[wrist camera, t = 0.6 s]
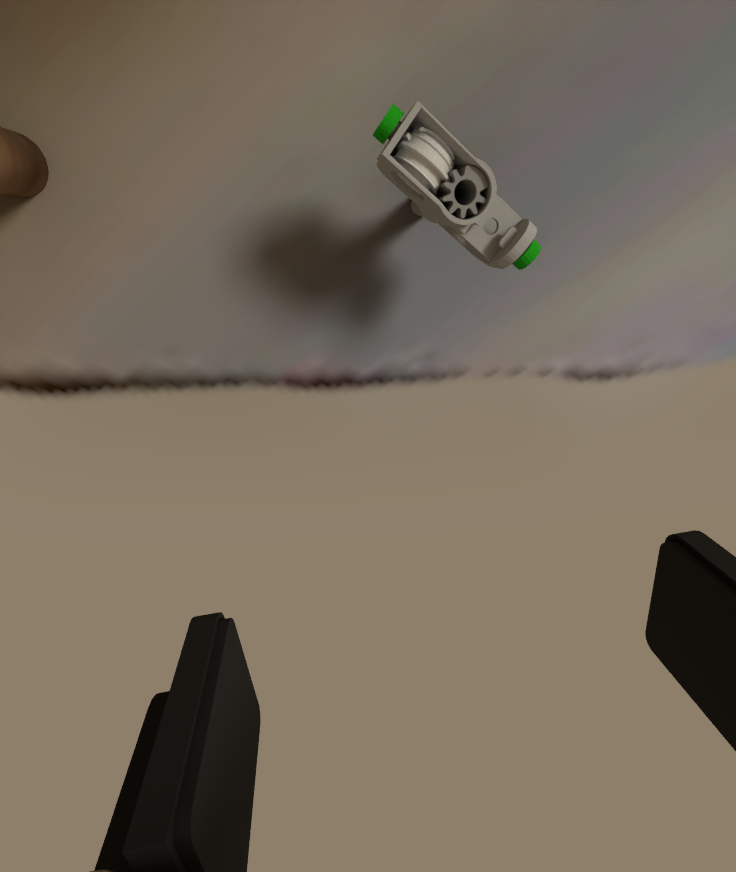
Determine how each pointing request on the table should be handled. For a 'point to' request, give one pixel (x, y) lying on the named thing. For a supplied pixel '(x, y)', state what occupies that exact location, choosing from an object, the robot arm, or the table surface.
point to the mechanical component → (453, 189)
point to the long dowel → (21, 165)
